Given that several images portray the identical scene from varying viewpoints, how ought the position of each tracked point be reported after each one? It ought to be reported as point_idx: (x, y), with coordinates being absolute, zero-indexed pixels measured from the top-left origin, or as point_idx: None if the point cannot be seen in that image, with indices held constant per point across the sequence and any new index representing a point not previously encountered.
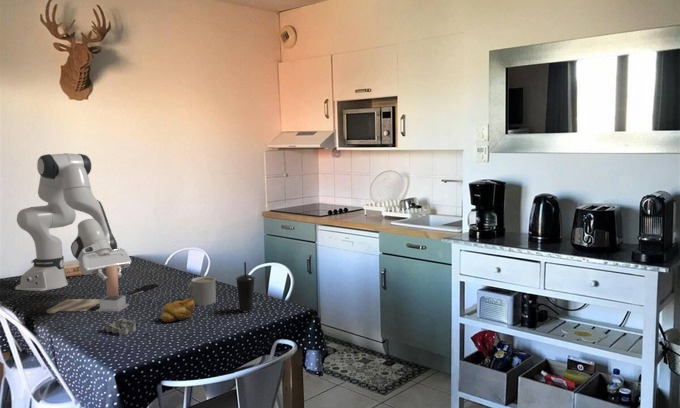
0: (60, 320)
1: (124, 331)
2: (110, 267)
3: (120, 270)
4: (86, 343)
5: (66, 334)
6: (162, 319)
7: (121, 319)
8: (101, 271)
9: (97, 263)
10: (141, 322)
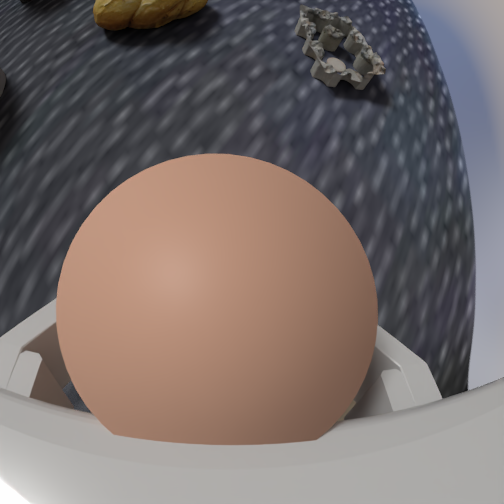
0: (427, 338)
1: (340, 26)
2: (316, 212)
3: (40, 313)
4: (424, 70)
5: (453, 166)
6: (206, 2)
7: (319, 59)
8: (392, 370)
9: (490, 495)
10: (241, 53)
